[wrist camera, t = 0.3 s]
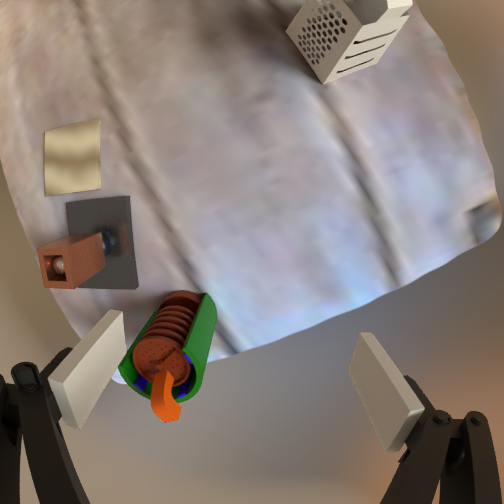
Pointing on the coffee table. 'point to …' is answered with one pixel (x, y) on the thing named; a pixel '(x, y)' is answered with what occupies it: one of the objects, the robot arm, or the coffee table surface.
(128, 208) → the grey peg stand
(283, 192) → the coffee table surface
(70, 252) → the square copper sleeve
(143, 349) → the motor
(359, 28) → the grater
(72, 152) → the plywood pad
